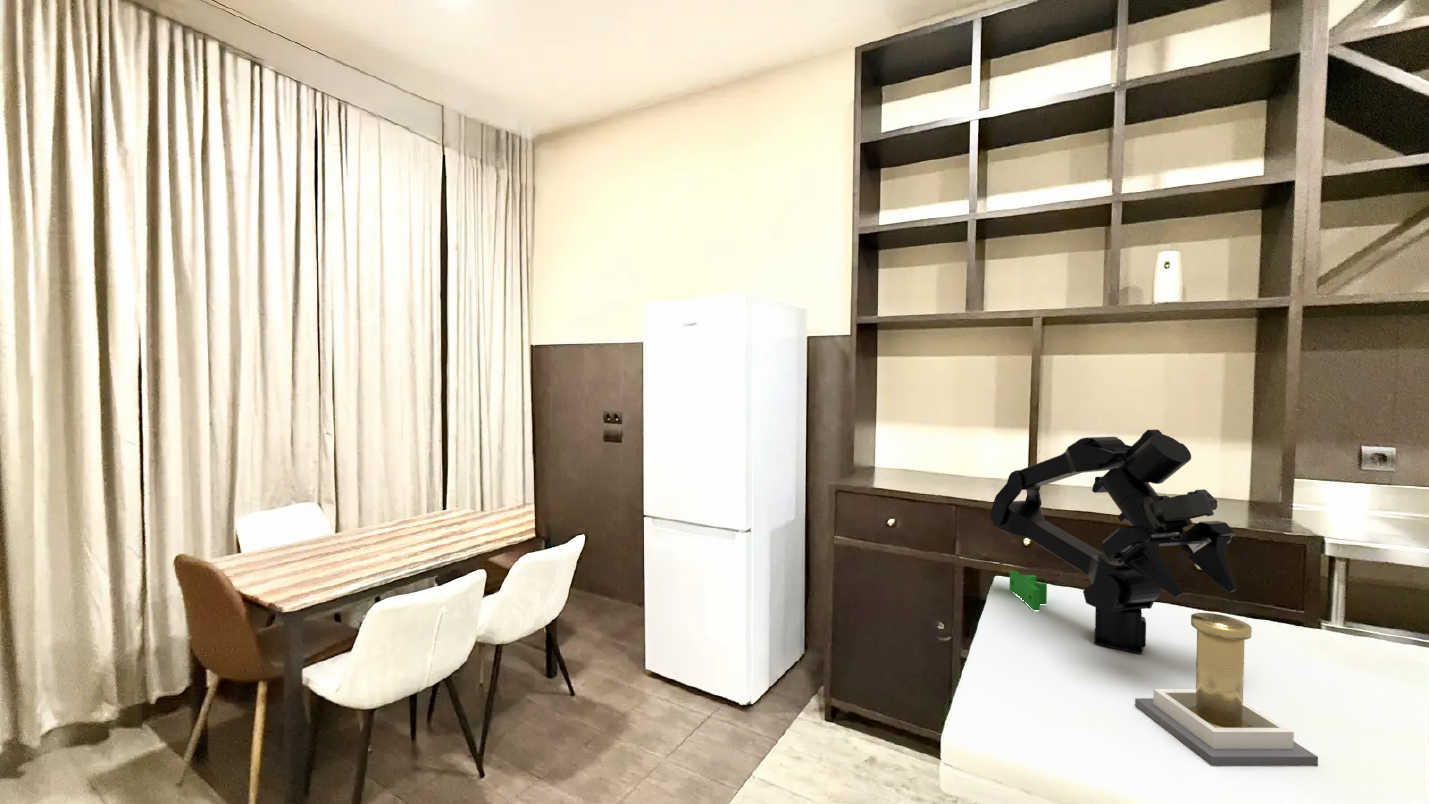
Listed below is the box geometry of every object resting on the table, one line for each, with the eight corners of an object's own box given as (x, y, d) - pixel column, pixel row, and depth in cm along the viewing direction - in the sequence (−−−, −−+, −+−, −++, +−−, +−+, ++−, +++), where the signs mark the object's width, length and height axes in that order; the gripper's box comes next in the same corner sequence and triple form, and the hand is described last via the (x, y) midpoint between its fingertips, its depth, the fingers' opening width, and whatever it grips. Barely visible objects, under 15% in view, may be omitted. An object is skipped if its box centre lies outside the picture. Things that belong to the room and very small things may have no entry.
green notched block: (1054, 613, 108) (1054, 589, 108) (1033, 612, 109) (1033, 589, 108) (1028, 591, 119) (1028, 569, 119) (1009, 591, 120) (1009, 569, 120)
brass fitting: (1178, 716, 73) (1180, 616, 72) (1206, 707, 74) (1209, 610, 74) (1230, 742, 67) (1233, 634, 67) (1259, 732, 69) (1262, 627, 69)
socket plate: (1211, 765, 65) (1212, 739, 65) (1135, 705, 77) (1135, 683, 77) (1317, 765, 65) (1318, 739, 65) (1224, 705, 77) (1225, 683, 77)
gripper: (1119, 473, 84) (1193, 571, 74) (1223, 469, 87) (1307, 562, 77) (1076, 513, 92) (1136, 607, 82) (1172, 508, 95) (1242, 598, 85)
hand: (1206, 593), depth 81 cm, fingers open, 9 cm apart
